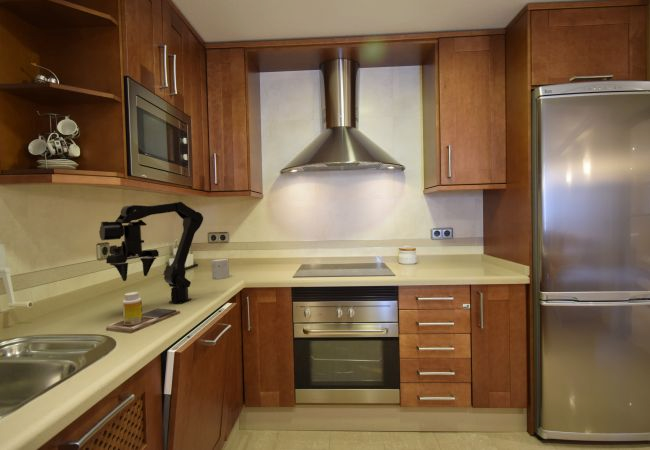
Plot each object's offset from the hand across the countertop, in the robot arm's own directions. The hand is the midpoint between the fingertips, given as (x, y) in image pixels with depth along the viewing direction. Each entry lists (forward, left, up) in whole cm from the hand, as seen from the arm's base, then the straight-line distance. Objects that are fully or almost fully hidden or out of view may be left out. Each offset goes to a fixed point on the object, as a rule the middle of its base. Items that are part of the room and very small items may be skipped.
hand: (135, 278), depth 130 cm
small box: (-62, -8, -13) cm, 64 cm away
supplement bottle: (+13, +13, -12) cm, 22 cm away
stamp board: (+8, +13, -13) cm, 20 cm away
